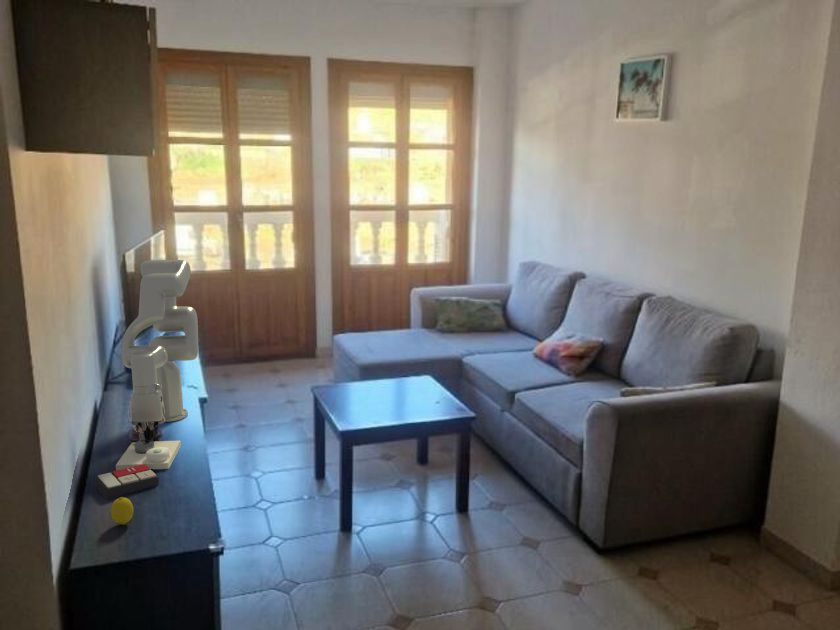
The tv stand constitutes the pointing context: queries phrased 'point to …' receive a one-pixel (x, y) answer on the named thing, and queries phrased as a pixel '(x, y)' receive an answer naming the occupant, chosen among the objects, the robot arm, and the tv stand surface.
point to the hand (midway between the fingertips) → (150, 439)
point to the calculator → (126, 481)
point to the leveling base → (141, 458)
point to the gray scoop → (143, 444)
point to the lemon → (122, 510)
